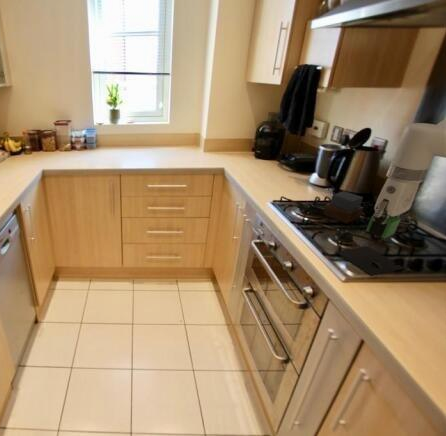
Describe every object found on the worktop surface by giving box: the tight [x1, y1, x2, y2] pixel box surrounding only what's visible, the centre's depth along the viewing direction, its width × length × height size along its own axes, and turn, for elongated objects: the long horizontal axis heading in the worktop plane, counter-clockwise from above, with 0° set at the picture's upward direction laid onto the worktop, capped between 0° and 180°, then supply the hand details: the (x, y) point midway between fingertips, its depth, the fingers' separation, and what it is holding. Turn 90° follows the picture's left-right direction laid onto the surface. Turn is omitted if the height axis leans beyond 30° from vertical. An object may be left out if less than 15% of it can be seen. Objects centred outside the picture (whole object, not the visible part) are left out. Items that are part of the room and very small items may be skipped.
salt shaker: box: [395, 201, 415, 233], centre depth 110 cm, size 6×6×12 cm
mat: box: [335, 246, 405, 277], centre depth 96 cm, size 12×12×1 cm
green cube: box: [365, 214, 401, 239], centre depth 91 cm, size 5×5×5 cm
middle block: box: [329, 190, 364, 211], centre depth 119 cm, size 7×7×4 cm
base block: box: [322, 201, 365, 224], centre depth 121 cm, size 9×9×4 cm
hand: (380, 231), depth 91 cm, fingers closed on green cube, 5 cm apart
